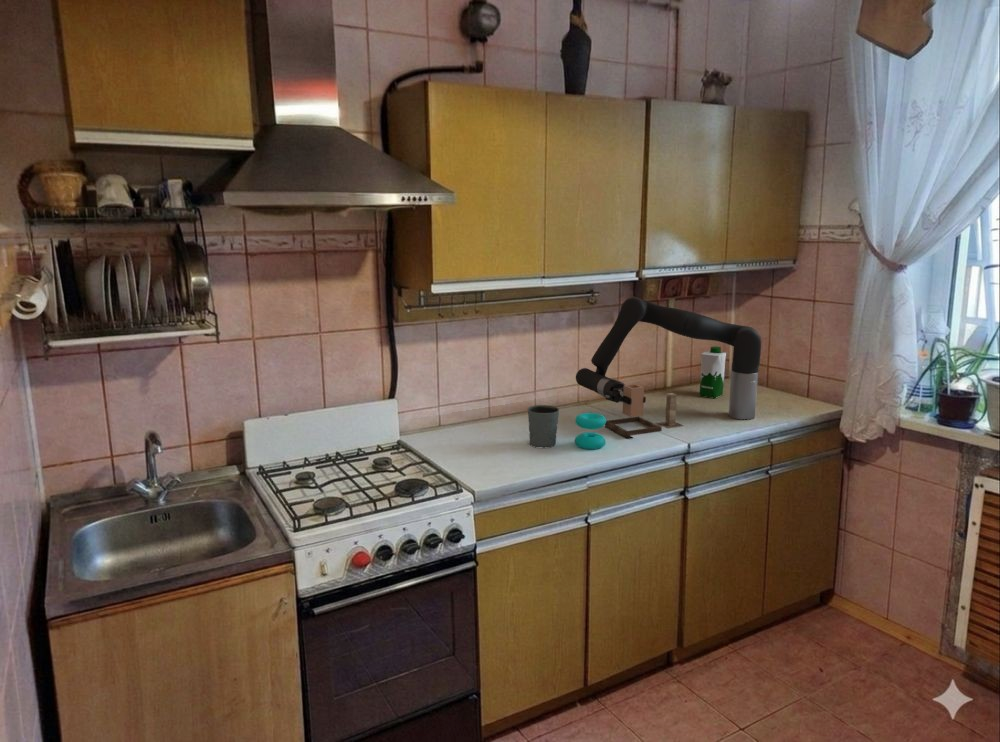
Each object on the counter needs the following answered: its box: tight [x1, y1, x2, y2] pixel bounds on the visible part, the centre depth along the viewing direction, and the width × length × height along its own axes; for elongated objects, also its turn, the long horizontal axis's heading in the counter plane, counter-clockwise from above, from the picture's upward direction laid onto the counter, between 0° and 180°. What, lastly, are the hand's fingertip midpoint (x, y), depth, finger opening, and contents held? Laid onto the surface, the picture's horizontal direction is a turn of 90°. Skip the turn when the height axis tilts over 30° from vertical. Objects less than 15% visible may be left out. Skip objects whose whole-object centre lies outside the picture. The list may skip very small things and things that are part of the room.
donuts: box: [574, 412, 607, 450], centre depth 226 cm, size 10×10×10 cm
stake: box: [656, 392, 685, 429], centre depth 245 cm, size 7×7×12 cm
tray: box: [604, 416, 663, 440], centre depth 242 cm, size 14×14×2 cm
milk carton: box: [699, 346, 727, 399], centre depth 285 cm, size 9×9×20 cm
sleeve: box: [622, 383, 645, 418], centre depth 240 cm, size 5×5×10 cm
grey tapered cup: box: [527, 404, 560, 448], centre depth 228 cm, size 10×10×12 cm
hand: (637, 400), depth 238 cm, fingers closed on sleeve, 5 cm apart
